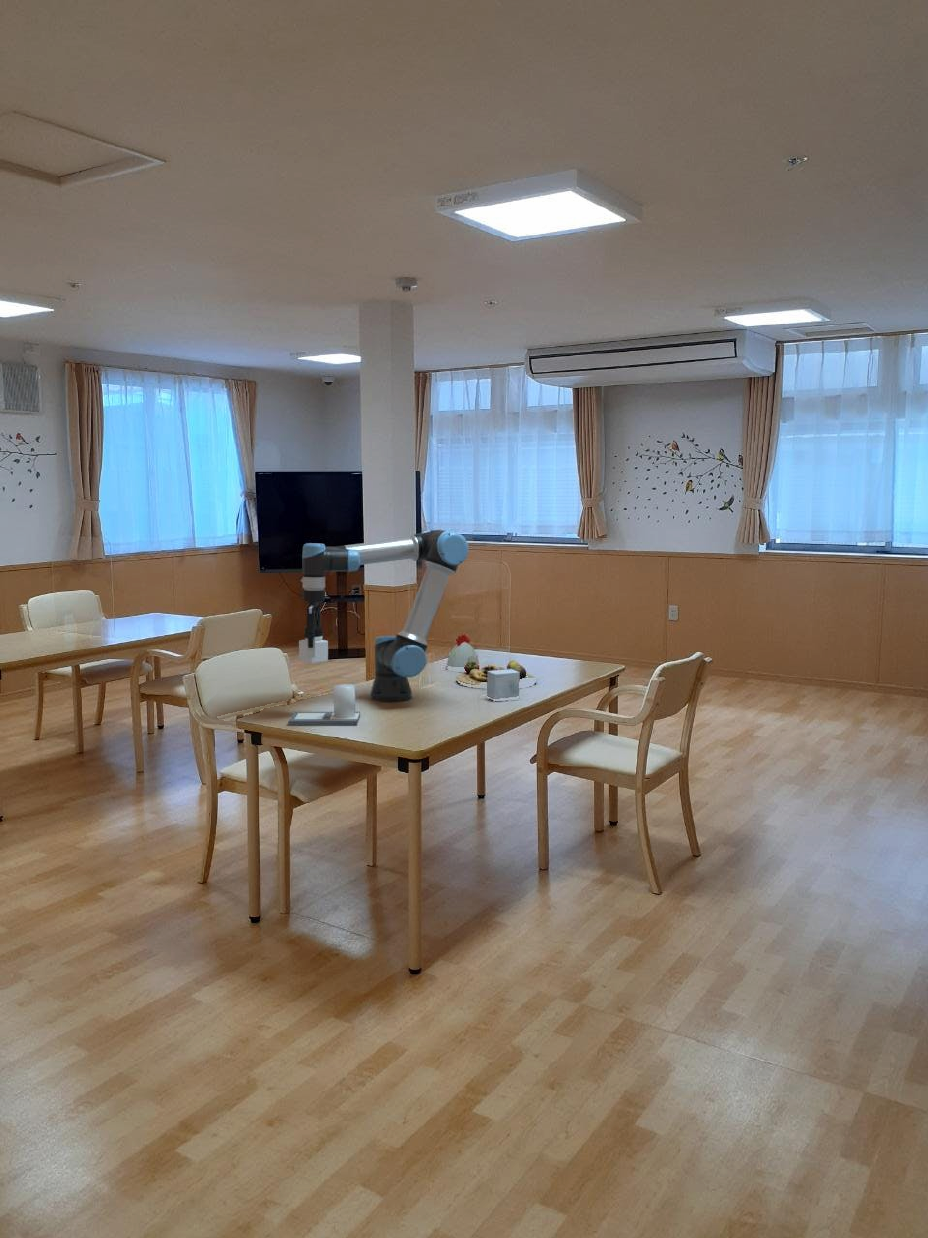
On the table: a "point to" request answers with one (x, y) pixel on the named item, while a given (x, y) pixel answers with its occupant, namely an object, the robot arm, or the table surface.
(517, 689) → the skincare box
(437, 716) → the table surface
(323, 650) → the medicine bottle
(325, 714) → the dock board
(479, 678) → the wooden plate with food
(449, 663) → the white dome figure
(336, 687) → the plastic jar
